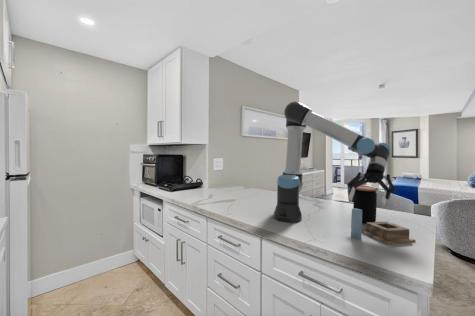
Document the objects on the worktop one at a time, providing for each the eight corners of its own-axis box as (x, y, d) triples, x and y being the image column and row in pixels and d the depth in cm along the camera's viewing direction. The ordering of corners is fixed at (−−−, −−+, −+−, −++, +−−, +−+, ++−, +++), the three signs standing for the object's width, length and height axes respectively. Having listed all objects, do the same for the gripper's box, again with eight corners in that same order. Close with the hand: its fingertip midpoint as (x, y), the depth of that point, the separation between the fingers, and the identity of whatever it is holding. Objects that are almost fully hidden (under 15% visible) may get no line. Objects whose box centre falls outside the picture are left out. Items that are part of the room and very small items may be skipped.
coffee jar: (372, 219, 123) (373, 186, 122) (378, 225, 112) (380, 189, 112) (351, 217, 125) (352, 185, 125) (355, 223, 115) (356, 188, 115)
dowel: (348, 235, 97) (349, 208, 96) (356, 235, 98) (357, 208, 97) (355, 239, 93) (356, 211, 93) (363, 238, 94) (364, 210, 94)
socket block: (360, 232, 102) (361, 221, 102) (385, 230, 105) (385, 220, 105) (387, 244, 88) (388, 232, 88) (415, 241, 91) (415, 230, 91)
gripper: (407, 174, 105) (399, 211, 95) (351, 170, 123) (340, 201, 113) (405, 163, 101) (397, 201, 91) (348, 161, 119) (336, 192, 109)
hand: (365, 201), depth 102 cm, fingers open, 13 cm apart
